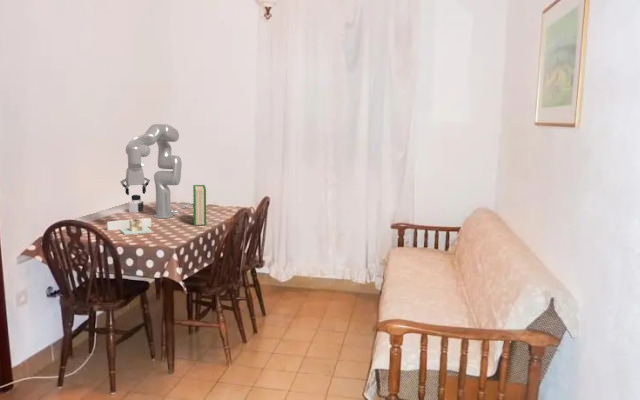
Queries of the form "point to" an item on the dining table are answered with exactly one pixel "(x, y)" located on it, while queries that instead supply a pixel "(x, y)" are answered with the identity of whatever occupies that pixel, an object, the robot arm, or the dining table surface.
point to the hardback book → (199, 204)
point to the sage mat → (128, 231)
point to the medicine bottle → (136, 204)
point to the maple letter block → (135, 225)
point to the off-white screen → (126, 224)
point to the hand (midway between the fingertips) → (135, 194)
